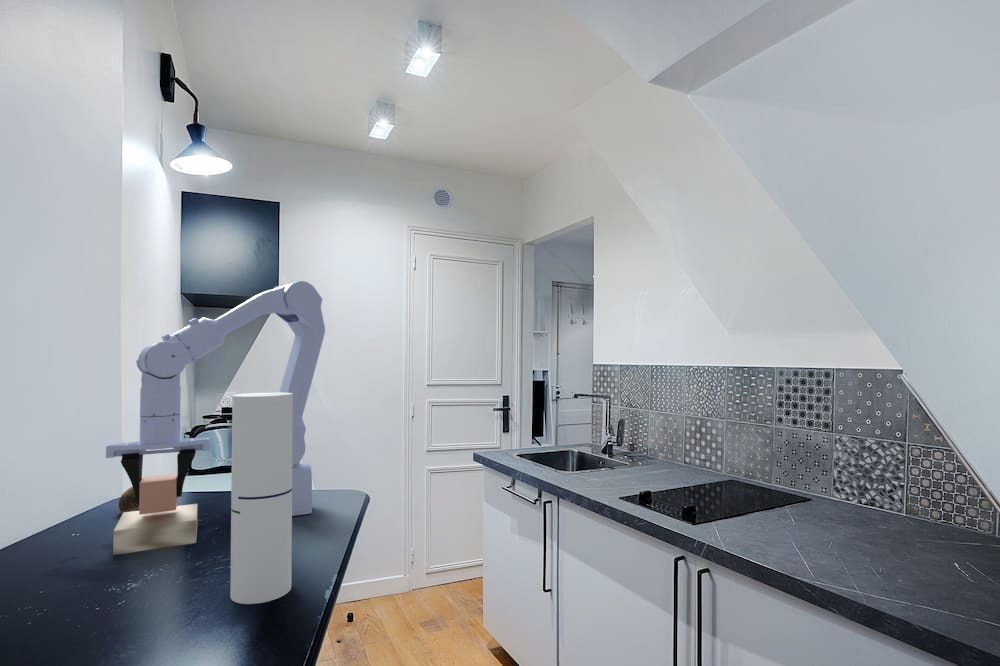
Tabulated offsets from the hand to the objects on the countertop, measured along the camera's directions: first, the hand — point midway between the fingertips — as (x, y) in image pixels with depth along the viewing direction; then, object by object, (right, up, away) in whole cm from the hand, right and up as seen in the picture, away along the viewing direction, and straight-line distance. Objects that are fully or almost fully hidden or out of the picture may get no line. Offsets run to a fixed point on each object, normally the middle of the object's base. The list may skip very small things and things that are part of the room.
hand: (159, 497), depth 91 cm
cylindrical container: (+26, -6, -21) cm, 34 cm away
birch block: (0, -7, 0) cm, 7 cm away
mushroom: (-13, -8, +15) cm, 22 cm away
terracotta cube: (0, -2, 0) cm, 2 cm away
